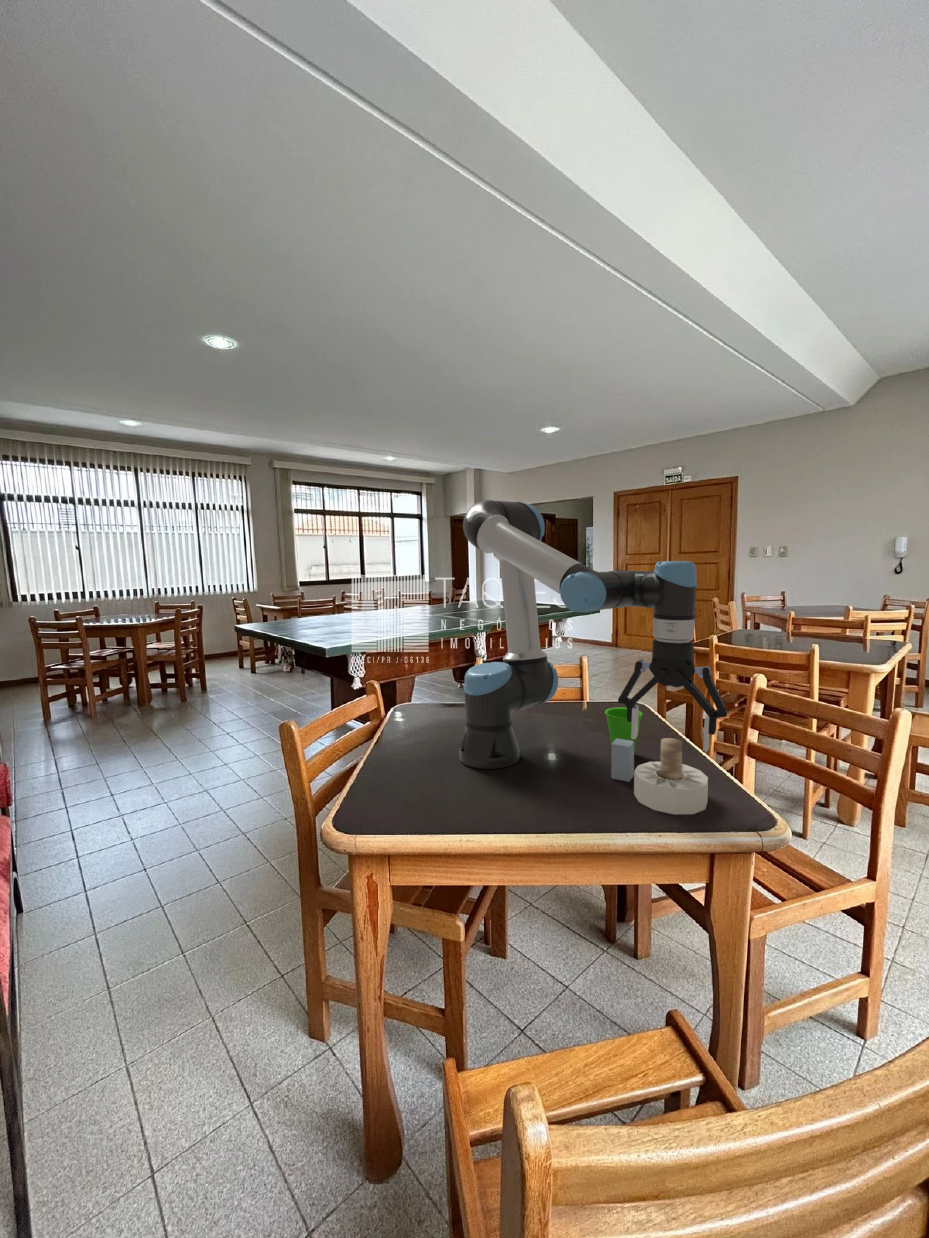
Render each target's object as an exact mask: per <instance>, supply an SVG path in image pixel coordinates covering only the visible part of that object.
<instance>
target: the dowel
mask: <svg viewBox="0 0 929 1238" xmlns="http://www.w3.org/2000/svg"><path fill="white" fill-rule="evenodd" d="M659 762H660V777H661V778H663V779H667V780H681V778H682V764H683V741H682V740H680V739H677V738H674V737H673V738H671V737H666V738H661V740H660V761H659Z"/></svg>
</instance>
